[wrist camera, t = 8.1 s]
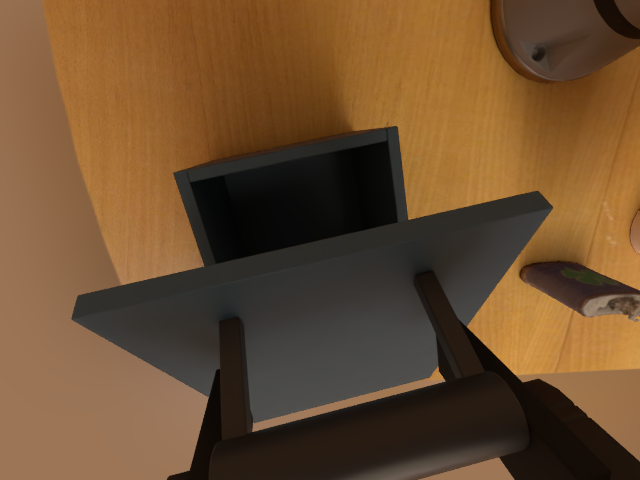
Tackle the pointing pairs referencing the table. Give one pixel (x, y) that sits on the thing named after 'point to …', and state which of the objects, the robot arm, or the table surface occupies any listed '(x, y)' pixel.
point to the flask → (583, 289)
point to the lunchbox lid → (339, 345)
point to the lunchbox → (294, 194)
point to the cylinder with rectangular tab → (636, 233)
